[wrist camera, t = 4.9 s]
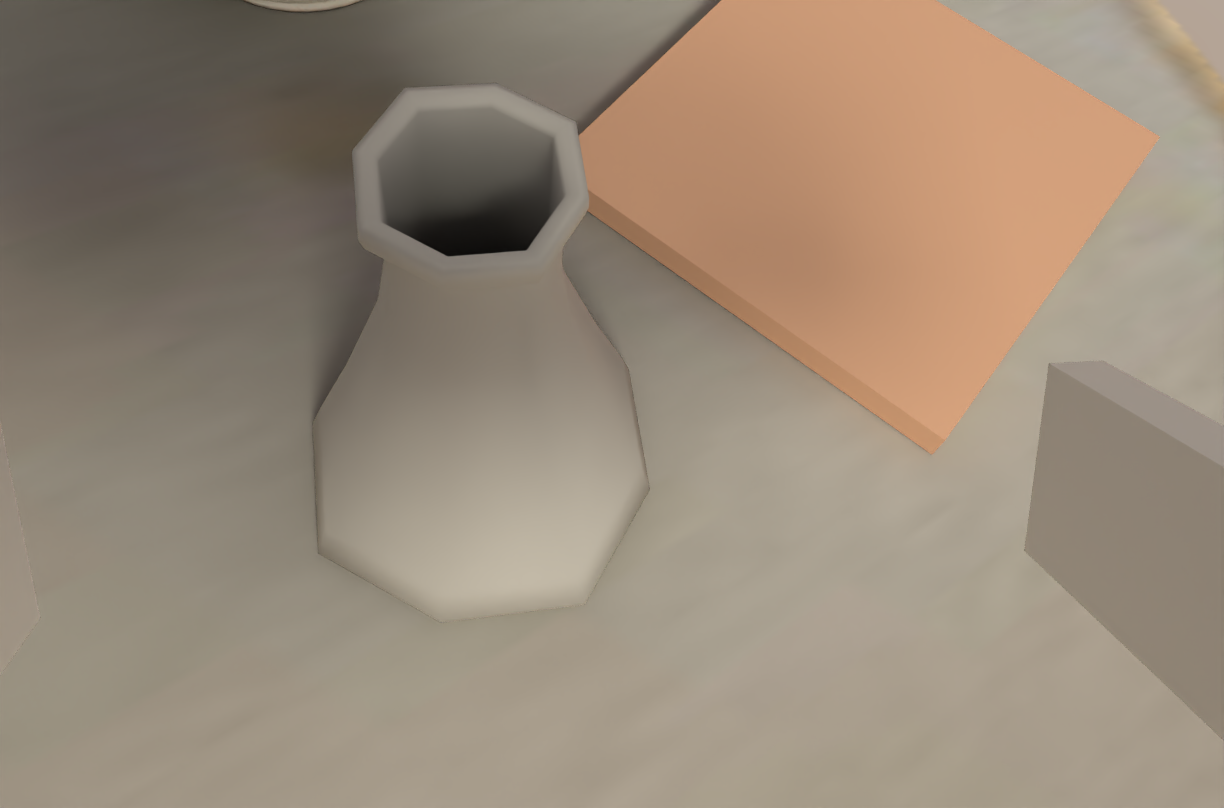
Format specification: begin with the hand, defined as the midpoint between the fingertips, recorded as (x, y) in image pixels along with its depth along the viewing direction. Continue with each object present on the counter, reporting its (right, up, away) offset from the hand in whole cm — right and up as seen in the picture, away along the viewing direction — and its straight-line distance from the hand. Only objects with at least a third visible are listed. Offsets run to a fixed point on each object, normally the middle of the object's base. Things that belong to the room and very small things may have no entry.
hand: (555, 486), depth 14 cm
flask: (-2, 0, +10) cm, 10 cm away
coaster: (+7, +7, +14) cm, 17 cm away
